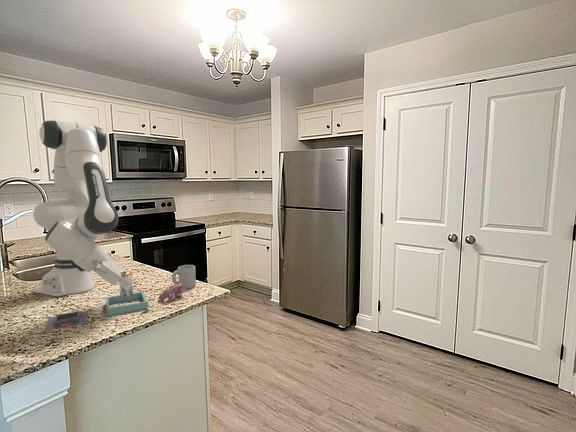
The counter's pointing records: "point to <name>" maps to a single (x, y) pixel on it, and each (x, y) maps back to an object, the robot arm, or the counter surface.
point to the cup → (185, 276)
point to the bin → (127, 308)
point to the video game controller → (170, 290)
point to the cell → (126, 290)
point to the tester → (66, 320)
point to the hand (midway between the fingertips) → (127, 282)
